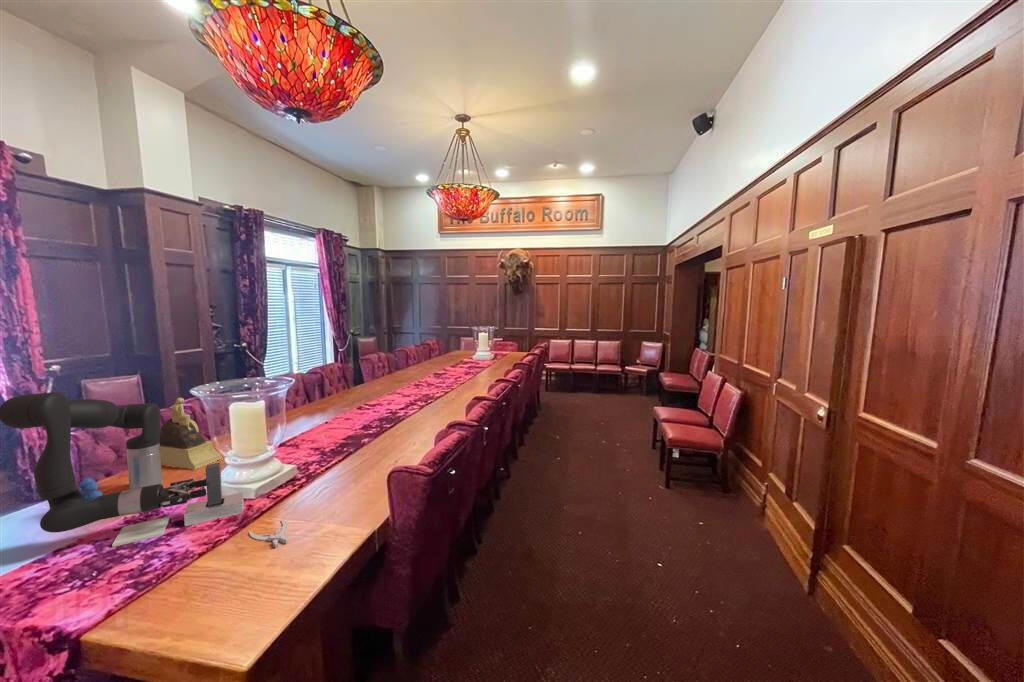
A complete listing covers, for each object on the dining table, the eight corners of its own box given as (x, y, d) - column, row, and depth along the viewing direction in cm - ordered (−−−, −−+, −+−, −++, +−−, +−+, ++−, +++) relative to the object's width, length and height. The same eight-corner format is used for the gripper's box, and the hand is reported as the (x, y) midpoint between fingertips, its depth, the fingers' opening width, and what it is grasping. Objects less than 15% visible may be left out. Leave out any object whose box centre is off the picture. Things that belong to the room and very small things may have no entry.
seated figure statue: (223, 459, 177) (220, 395, 175) (194, 470, 165) (190, 402, 162) (176, 453, 184) (172, 392, 181) (145, 463, 171) (141, 398, 169)
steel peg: (209, 513, 130) (206, 464, 129) (222, 510, 132) (220, 462, 131) (208, 518, 127) (205, 468, 126) (222, 514, 129) (219, 466, 128)
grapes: (66, 515, 129) (62, 480, 128) (94, 505, 135) (91, 472, 134) (81, 523, 124) (78, 487, 123) (110, 513, 130) (107, 479, 129)
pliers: (283, 516, 126) (300, 534, 116) (283, 521, 126) (300, 539, 116) (247, 529, 119) (262, 549, 109) (248, 534, 119) (263, 555, 109)
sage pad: (123, 528, 121) (123, 526, 121) (169, 518, 127) (169, 516, 127) (112, 547, 112) (112, 544, 112) (162, 535, 118) (162, 532, 118)
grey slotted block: (188, 515, 129) (187, 503, 129) (243, 502, 137) (243, 492, 137) (184, 526, 122) (184, 514, 122) (242, 512, 131) (242, 501, 130)
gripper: (134, 497, 113) (204, 484, 122) (146, 479, 125) (209, 468, 134) (136, 521, 114) (205, 506, 122) (148, 501, 125) (210, 489, 134)
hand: (207, 486), depth 128 cm, fingers open, 8 cm apart
